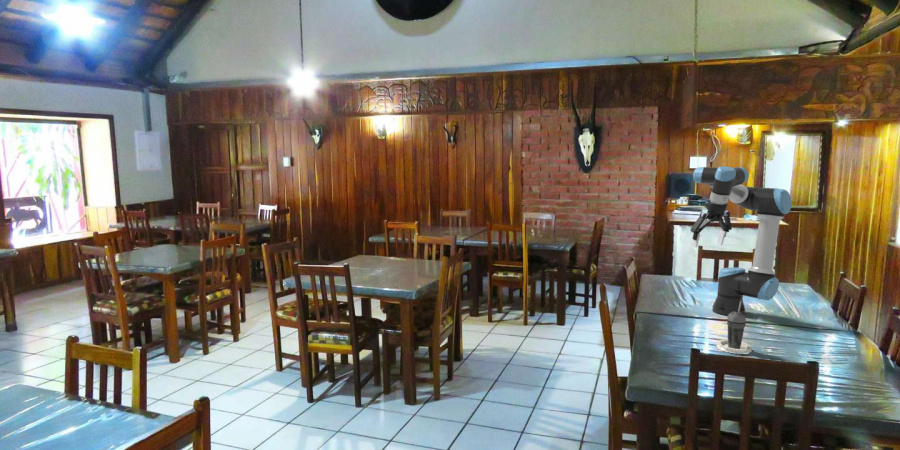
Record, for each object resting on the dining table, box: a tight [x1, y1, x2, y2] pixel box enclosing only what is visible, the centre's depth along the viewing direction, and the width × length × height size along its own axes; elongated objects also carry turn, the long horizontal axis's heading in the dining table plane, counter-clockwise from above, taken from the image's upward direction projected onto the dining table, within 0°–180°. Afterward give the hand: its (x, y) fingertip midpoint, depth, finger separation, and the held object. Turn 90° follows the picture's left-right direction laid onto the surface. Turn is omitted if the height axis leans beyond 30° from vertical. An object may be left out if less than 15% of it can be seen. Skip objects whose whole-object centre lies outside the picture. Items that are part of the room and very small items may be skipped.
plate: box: [716, 339, 753, 353], centre depth 232 cm, size 13×13×2 cm
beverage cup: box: [726, 301, 747, 349], centre depth 230 cm, size 7×7×20 cm
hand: (707, 244), depth 252 cm, fingers open, 13 cm apart
